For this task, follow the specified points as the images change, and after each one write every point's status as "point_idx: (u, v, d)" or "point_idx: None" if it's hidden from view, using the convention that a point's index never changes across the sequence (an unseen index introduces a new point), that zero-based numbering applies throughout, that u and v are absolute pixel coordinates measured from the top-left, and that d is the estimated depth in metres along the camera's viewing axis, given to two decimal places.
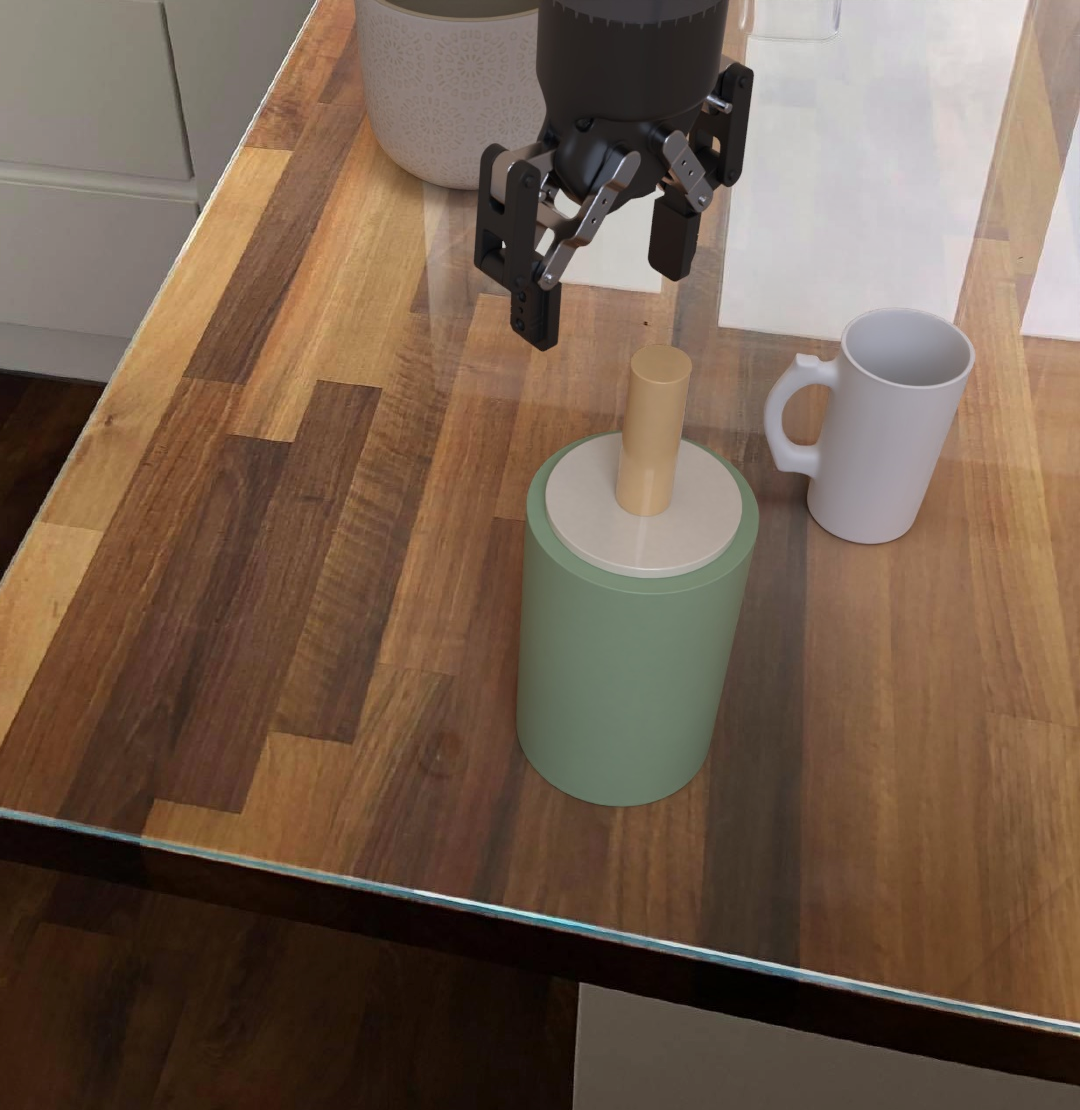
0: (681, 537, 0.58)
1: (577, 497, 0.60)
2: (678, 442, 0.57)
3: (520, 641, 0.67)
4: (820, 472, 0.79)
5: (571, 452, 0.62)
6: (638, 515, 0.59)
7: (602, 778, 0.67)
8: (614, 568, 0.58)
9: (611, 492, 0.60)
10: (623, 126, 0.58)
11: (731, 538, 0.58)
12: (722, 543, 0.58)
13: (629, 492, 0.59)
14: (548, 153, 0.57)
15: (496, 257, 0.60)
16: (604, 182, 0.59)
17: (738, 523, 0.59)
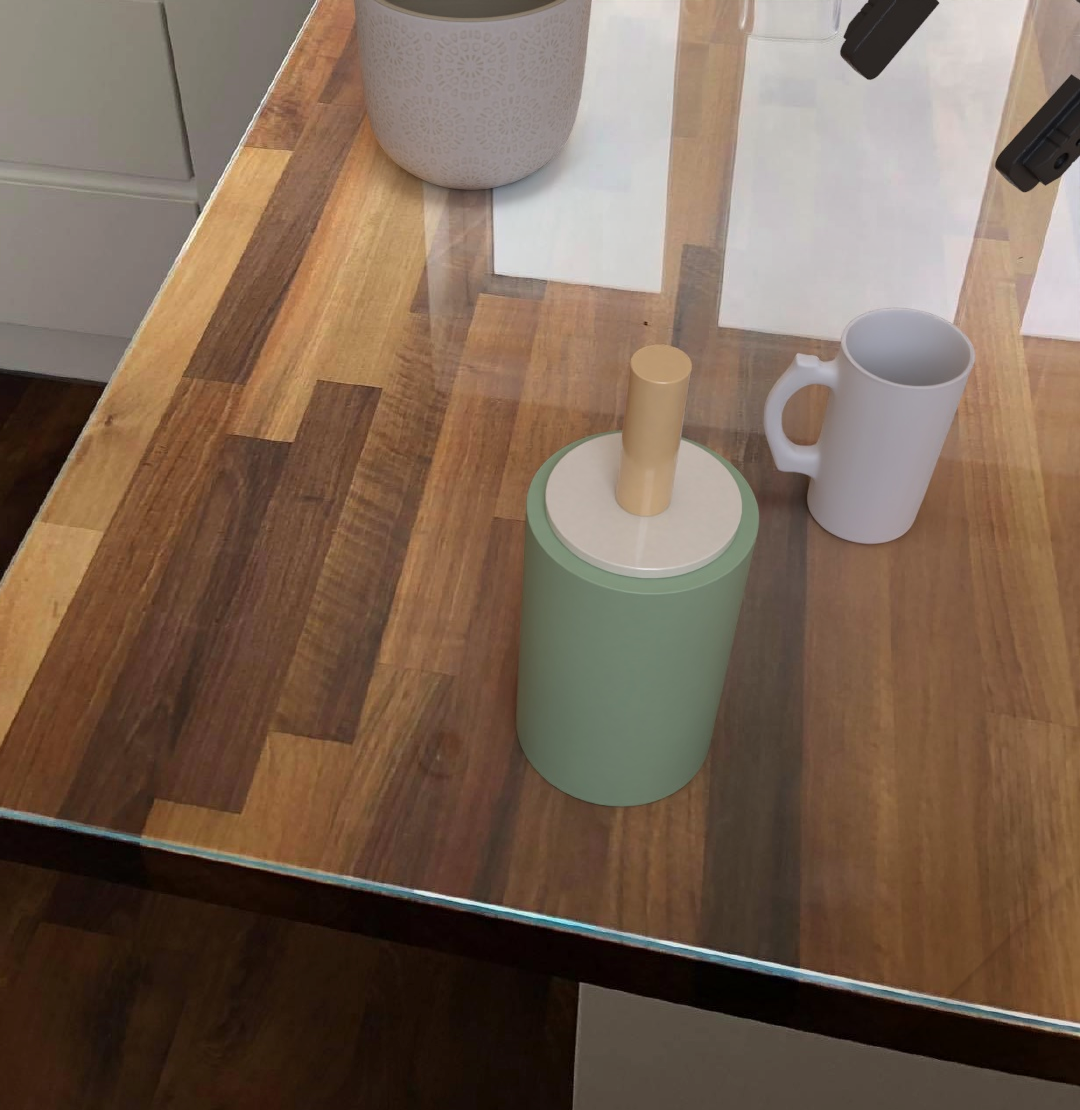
0: (681, 537, 0.58)
1: (577, 497, 0.60)
2: (678, 442, 0.57)
3: (520, 641, 0.67)
4: (820, 472, 0.79)
5: (571, 452, 0.62)
6: (638, 515, 0.59)
7: (602, 778, 0.67)
8: (614, 568, 0.58)
9: (611, 492, 0.60)
10: None
11: (731, 538, 0.58)
12: (722, 543, 0.58)
13: (629, 492, 0.59)
14: None
15: None
16: None
17: (738, 523, 0.59)
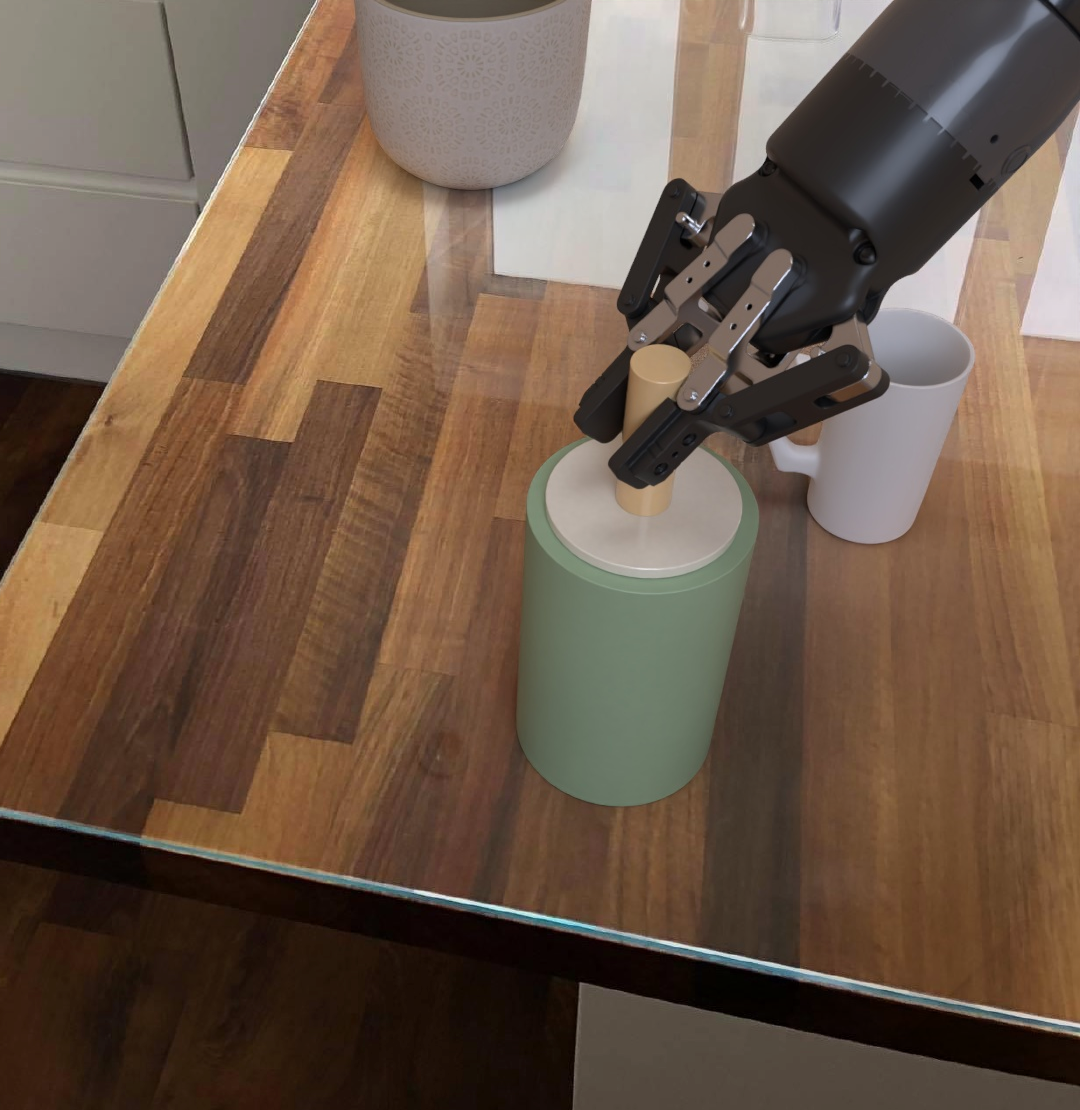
0: (681, 537, 0.58)
1: (577, 497, 0.60)
2: None
3: (520, 641, 0.67)
4: (820, 472, 0.79)
5: (571, 452, 0.62)
6: (638, 515, 0.59)
7: (602, 778, 0.67)
8: (614, 568, 0.58)
9: (611, 492, 0.60)
10: (779, 214, 0.53)
11: (731, 538, 0.58)
12: (722, 543, 0.58)
13: (629, 492, 0.59)
14: (720, 196, 0.56)
15: (654, 300, 0.58)
16: None
17: (738, 523, 0.59)
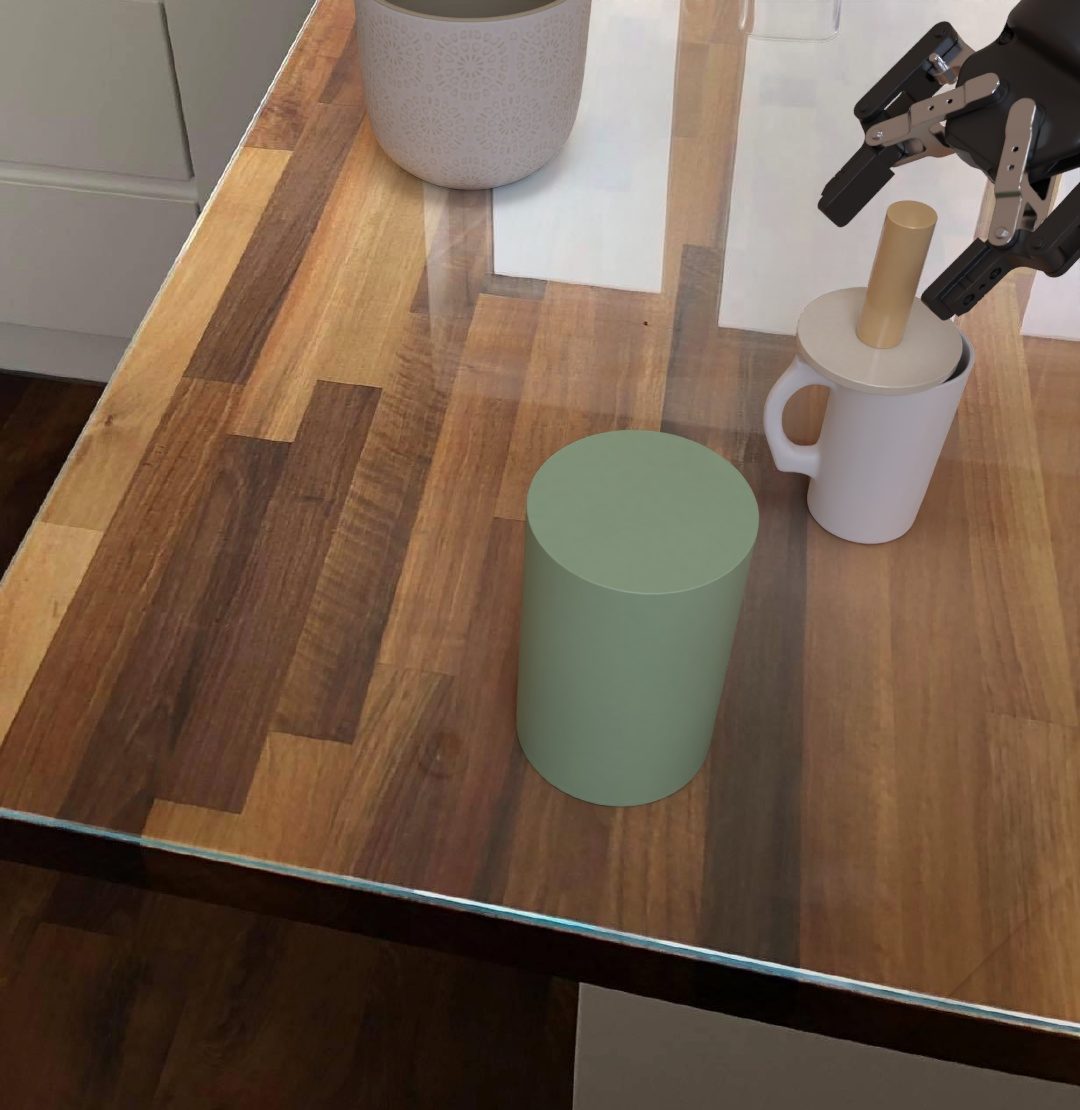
0: (915, 363, 0.71)
1: (825, 335, 0.73)
2: (918, 282, 0.70)
3: (520, 641, 0.67)
4: (820, 472, 0.79)
5: (813, 302, 0.75)
6: (878, 348, 0.72)
7: (602, 778, 0.67)
8: (863, 387, 0.71)
9: (852, 331, 0.73)
10: (1018, 73, 0.65)
11: (957, 364, 0.72)
12: (950, 368, 0.71)
13: (872, 327, 0.72)
14: (972, 52, 0.68)
15: None
16: None
17: (961, 353, 0.72)
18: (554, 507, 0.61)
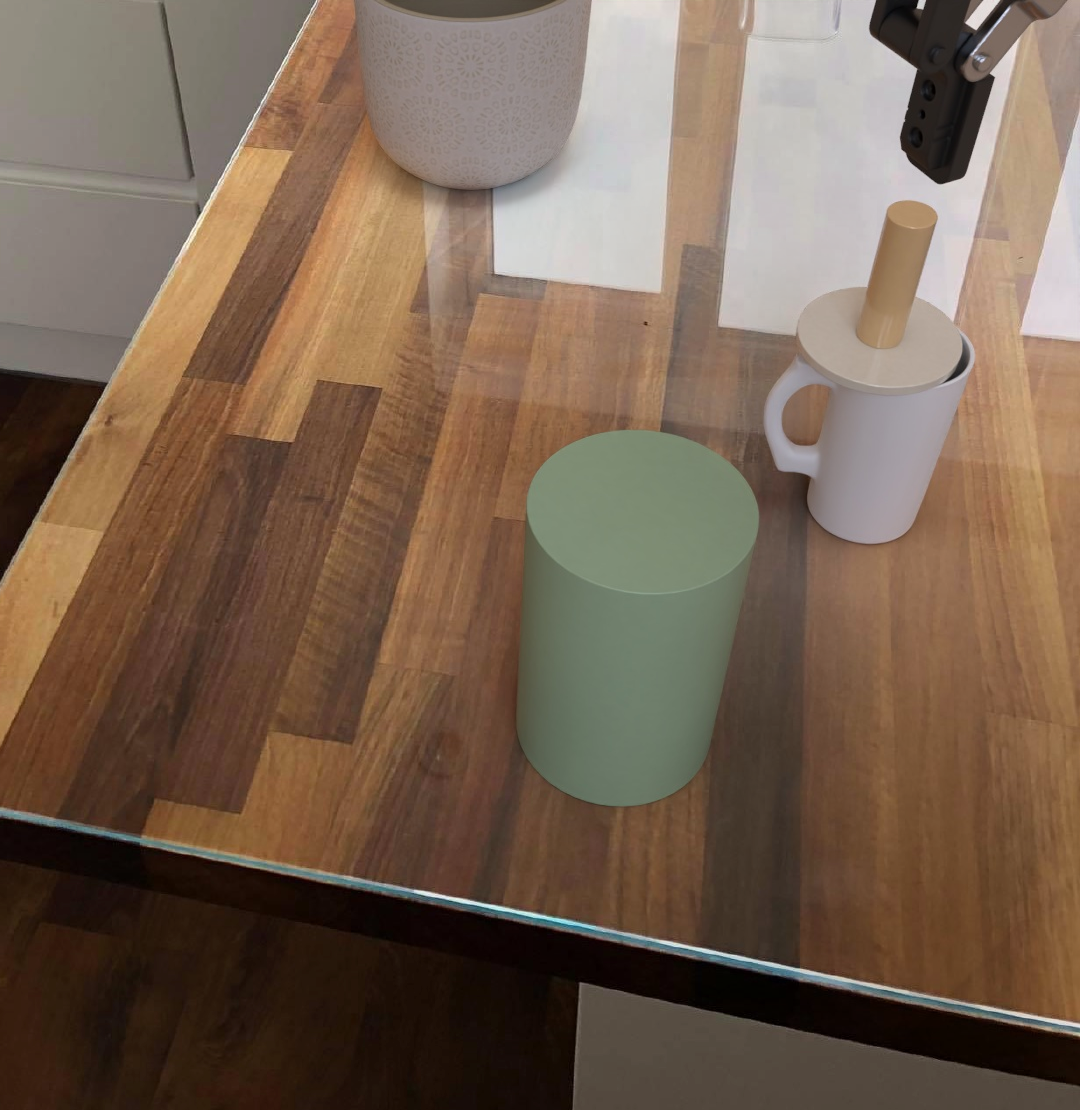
0: (915, 363, 0.71)
1: (825, 335, 0.73)
2: (918, 282, 0.70)
3: (520, 641, 0.67)
4: (820, 472, 0.79)
5: (813, 302, 0.75)
6: (878, 348, 0.72)
7: (602, 778, 0.67)
8: (863, 387, 0.71)
9: (852, 331, 0.73)
10: None
11: (957, 364, 0.72)
12: (950, 368, 0.71)
13: (872, 327, 0.72)
14: None
15: (906, 16, 0.40)
16: None
17: (961, 353, 0.72)
18: (554, 507, 0.61)
